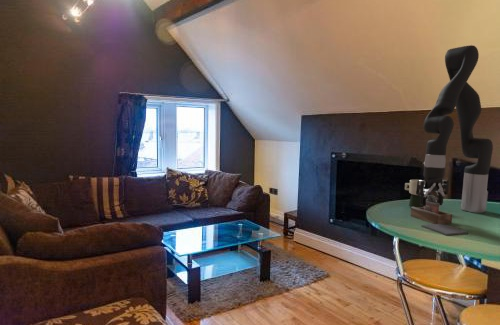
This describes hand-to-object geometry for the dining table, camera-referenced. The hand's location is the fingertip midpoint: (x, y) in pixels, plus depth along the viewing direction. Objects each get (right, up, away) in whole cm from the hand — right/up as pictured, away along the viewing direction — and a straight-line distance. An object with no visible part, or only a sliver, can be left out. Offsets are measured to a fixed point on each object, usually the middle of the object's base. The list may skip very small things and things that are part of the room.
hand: (431, 205), depth 141 cm
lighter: (0, -6, +1) cm, 6 cm away
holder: (0, -6, +1) cm, 6 cm away
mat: (-2, -7, -14) cm, 16 cm away
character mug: (+4, -4, +21) cm, 22 cm away
